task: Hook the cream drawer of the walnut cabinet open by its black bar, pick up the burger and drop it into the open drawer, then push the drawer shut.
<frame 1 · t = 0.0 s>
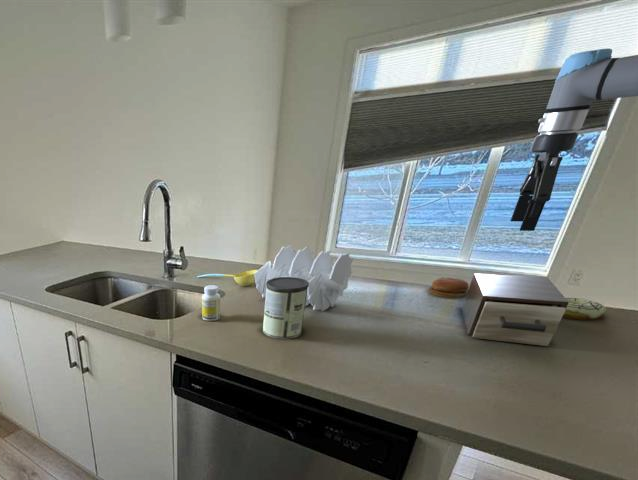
hand: (521, 225, 107), 21 cm above the countertop, tool pointing down, fingers open, 13 cm apart
ladle: (225, 282, 155), on the countertop
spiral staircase: (299, 305, 128), on the countertop
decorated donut: (570, 315, 105), on the countertop
supplement bottle: (210, 318, 124), on the countertop
burger: (445, 295, 125), on the countertop
coffee can: (281, 333, 111), on the countertop
drawer: (511, 314, 96), point 5 cm above the countertop, slide at 1.0 cm
cabinet: (499, 326, 103), on the countertop
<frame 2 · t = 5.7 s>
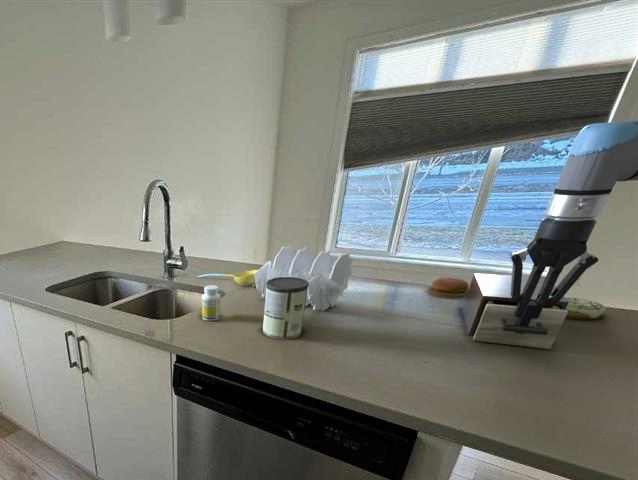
hand: (518, 331, 89), 5 cm above the countertop, tool pointing down, fingers closed
drawer: (512, 316, 95), point 5 cm above the countertop, slide at 2.7 cm
everything else where it was.
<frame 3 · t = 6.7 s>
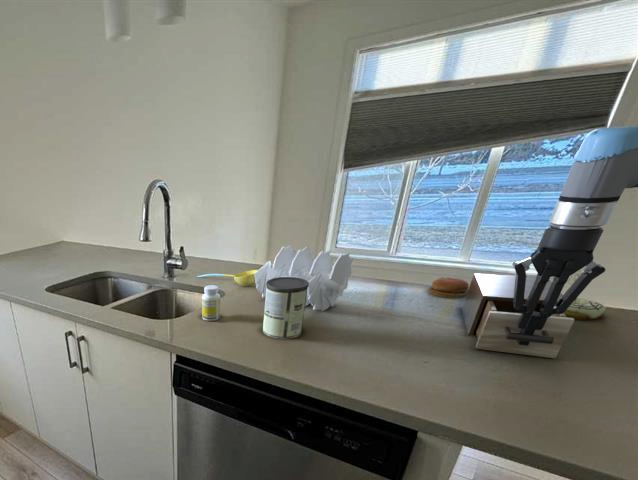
hand: (522, 342, 85), 5 cm above the countertop, tool pointing down, fingers closed
drawer: (516, 324, 91), point 5 cm above the countertop, slide at 7.5 cm, touching gripper
everything else where it was.
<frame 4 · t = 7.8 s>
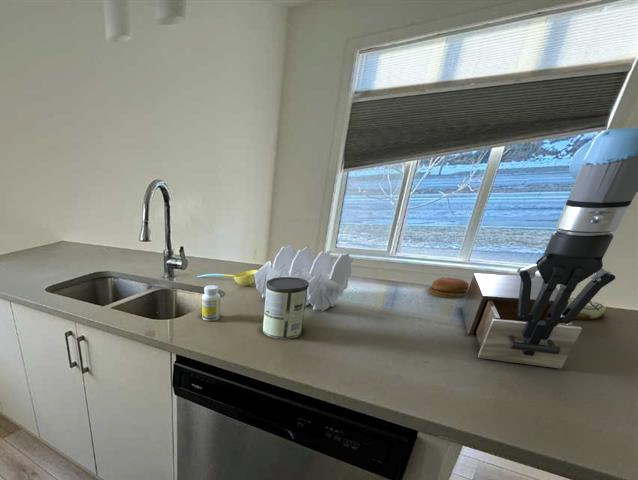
hand: (527, 352, 82), 4 cm above the countertop, tool pointing down, fingers closed
drawer: (520, 332, 88), point 5 cm above the countertop, slide at 12.5 cm, touching gripper
everything else where it was.
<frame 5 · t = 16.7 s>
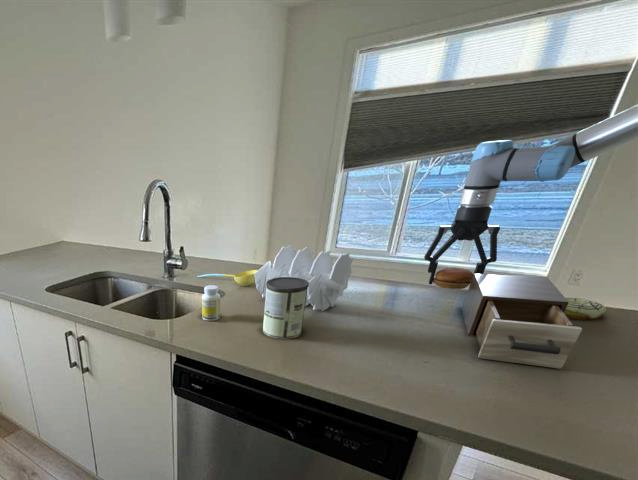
hand: (450, 284, 123), 3 cm above the countertop, tool pointing down, fingers closed on burger, 10 cm apart
burger: (450, 285, 123), point 3 cm above the countertop, touching gripper
drawer: (520, 332, 88), point 5 cm above the countertop, slide at 12.6 cm
everything else where it was.
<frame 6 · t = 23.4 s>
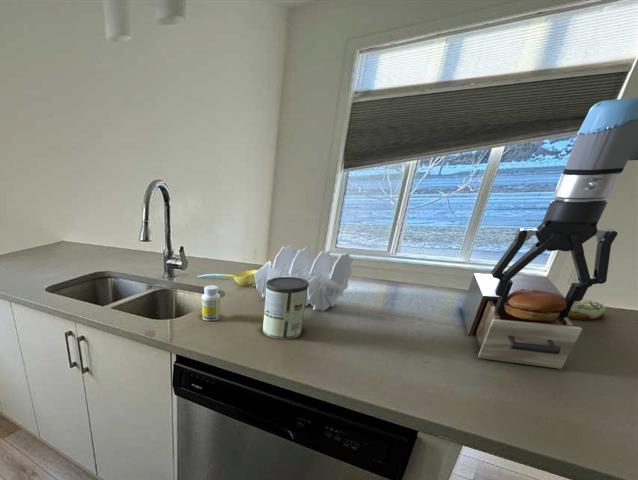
hand: (529, 312, 86), 10 cm above the countertop, tool pointing down, fingers closed on burger, 10 cm apart
burger: (528, 314, 86), point 9 cm above the countertop, touching gripper
drawer: (520, 332, 88), point 5 cm above the countertop, slide at 12.6 cm, touching gripper
everything else where it was.
when the fingers open (10 cm above the countertop, at t = 30.0 s): burger drops 8 cm, resting on drawer.
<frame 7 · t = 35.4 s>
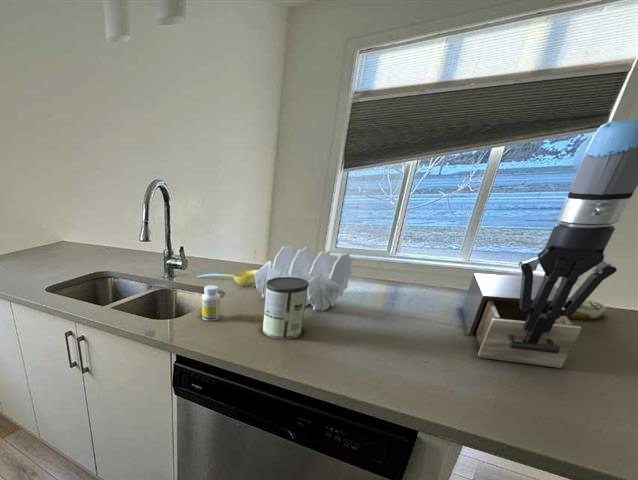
hand: (528, 345, 82), 6 cm above the countertop, tool pointing down, fingers closed
burger: (513, 345, 90), point 2 cm above the countertop, touching drawer
drawer: (520, 331, 88), point 5 cm above the countertop, slide at 12.2 cm, touching burger, gripper
everything else where it was.
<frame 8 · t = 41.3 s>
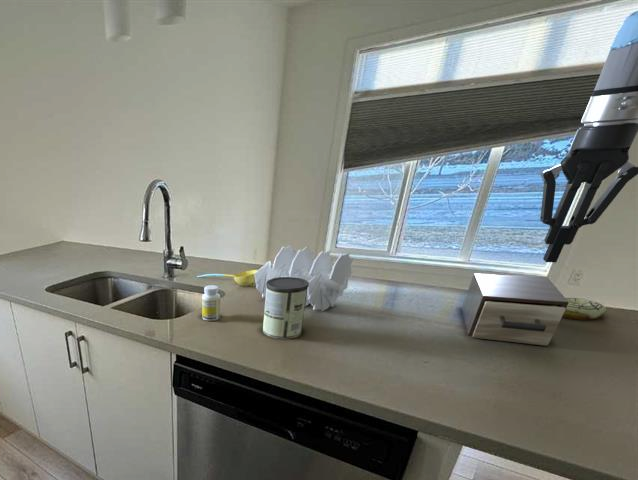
hand: (549, 260, 82), 20 cm above the countertop, tool pointing down, fingers closed
burger: (505, 326, 99), point 2 cm above the countertop, touching drawer
drawer: (511, 314, 96), point 5 cm above the countertop, slide at 0.8 cm, touching burger
everything else where it was.
at the end: drawer pulled out 12.8 cm at the most during the clip, back to 0.8 cm at the end; burger inside the target area in the cabinet (4.6 cm from its centre), point 1.8 cm above the cabinet's base; drawer slide at 0.8 cm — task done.
